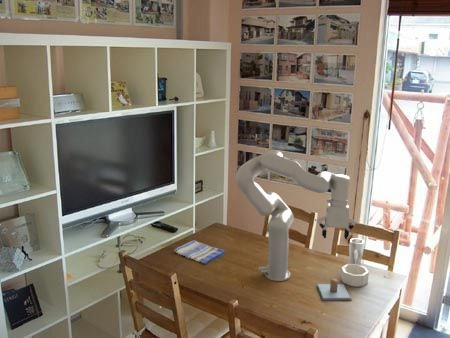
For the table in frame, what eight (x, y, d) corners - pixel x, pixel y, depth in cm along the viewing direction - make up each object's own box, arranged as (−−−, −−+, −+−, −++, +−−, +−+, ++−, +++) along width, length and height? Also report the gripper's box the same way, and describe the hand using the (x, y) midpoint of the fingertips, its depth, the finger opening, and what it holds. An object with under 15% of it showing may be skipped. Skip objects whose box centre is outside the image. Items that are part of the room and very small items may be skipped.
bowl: (345, 287, 217) (346, 275, 215) (338, 275, 228) (339, 264, 226) (369, 287, 217) (371, 275, 215) (362, 275, 228) (363, 264, 227)
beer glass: (362, 272, 231) (364, 244, 227) (347, 270, 233) (350, 243, 229) (361, 265, 238) (363, 238, 234) (347, 264, 239) (349, 237, 235)
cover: (323, 299, 206) (324, 287, 204) (317, 285, 217) (318, 274, 216) (350, 299, 206) (351, 287, 204) (343, 285, 218) (344, 274, 216)
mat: (322, 300, 205) (322, 299, 205) (316, 285, 218) (316, 285, 218) (351, 300, 206) (351, 299, 205) (344, 285, 218) (344, 285, 218)
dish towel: (194, 243, 265) (194, 238, 264) (226, 254, 251) (226, 250, 250) (172, 253, 252) (172, 248, 251) (205, 266, 238) (205, 261, 237)
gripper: (320, 204, 204) (317, 240, 209) (360, 206, 204) (355, 241, 208) (317, 198, 211) (314, 233, 216) (356, 200, 211) (352, 235, 216)
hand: (334, 237), depth 212 cm, fingers open, 9 cm apart
